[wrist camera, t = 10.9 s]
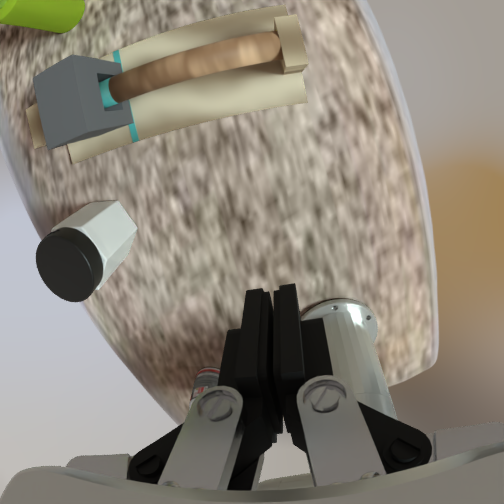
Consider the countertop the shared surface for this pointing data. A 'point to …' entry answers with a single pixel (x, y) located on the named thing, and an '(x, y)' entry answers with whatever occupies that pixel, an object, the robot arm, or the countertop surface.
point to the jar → (85, 249)
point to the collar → (77, 101)
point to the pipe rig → (198, 77)
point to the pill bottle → (204, 381)
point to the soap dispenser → (42, 14)
